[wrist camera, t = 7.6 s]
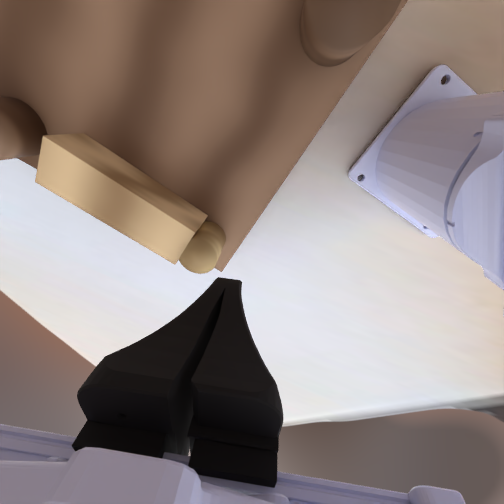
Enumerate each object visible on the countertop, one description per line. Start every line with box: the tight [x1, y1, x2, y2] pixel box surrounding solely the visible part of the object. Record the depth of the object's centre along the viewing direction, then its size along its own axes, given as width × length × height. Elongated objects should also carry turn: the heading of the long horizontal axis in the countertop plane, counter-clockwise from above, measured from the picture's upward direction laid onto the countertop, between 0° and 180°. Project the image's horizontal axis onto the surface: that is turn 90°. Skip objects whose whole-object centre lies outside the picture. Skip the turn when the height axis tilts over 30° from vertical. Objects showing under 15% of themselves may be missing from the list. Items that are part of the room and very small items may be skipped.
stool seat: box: [0, 0, 408, 272], centre depth 14 cm, size 20×20×6 cm
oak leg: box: [35, 133, 226, 274], centre depth 17 cm, size 12×3×3 cm, turn 55°
